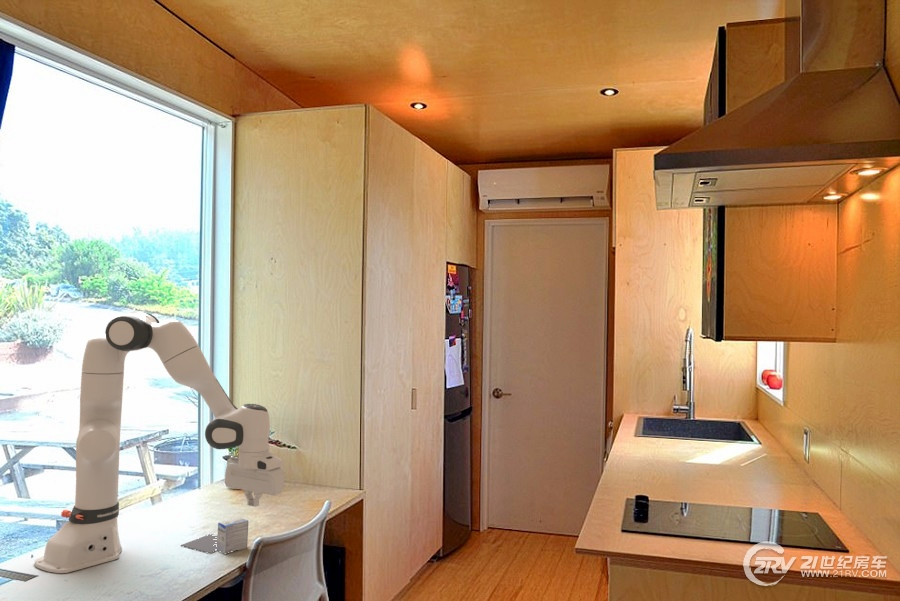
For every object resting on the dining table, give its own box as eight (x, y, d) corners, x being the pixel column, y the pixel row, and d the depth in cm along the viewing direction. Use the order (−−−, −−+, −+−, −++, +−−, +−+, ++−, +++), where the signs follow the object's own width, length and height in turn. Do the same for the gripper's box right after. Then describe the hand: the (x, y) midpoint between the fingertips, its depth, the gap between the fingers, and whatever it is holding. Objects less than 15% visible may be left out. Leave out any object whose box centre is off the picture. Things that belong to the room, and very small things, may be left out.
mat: (209, 553, 204) (209, 552, 204) (180, 546, 209) (180, 545, 209) (239, 541, 214) (239, 540, 214) (210, 534, 220) (210, 533, 220)
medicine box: (239, 544, 212) (240, 516, 212) (247, 548, 209) (248, 519, 209) (216, 551, 206) (217, 522, 206) (224, 555, 203) (225, 525, 203)
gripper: (219, 457, 206) (219, 503, 207) (273, 465, 197) (272, 513, 197) (235, 452, 212) (234, 497, 212) (287, 461, 203) (286, 508, 203)
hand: (253, 505), depth 205 cm, fingers closed
